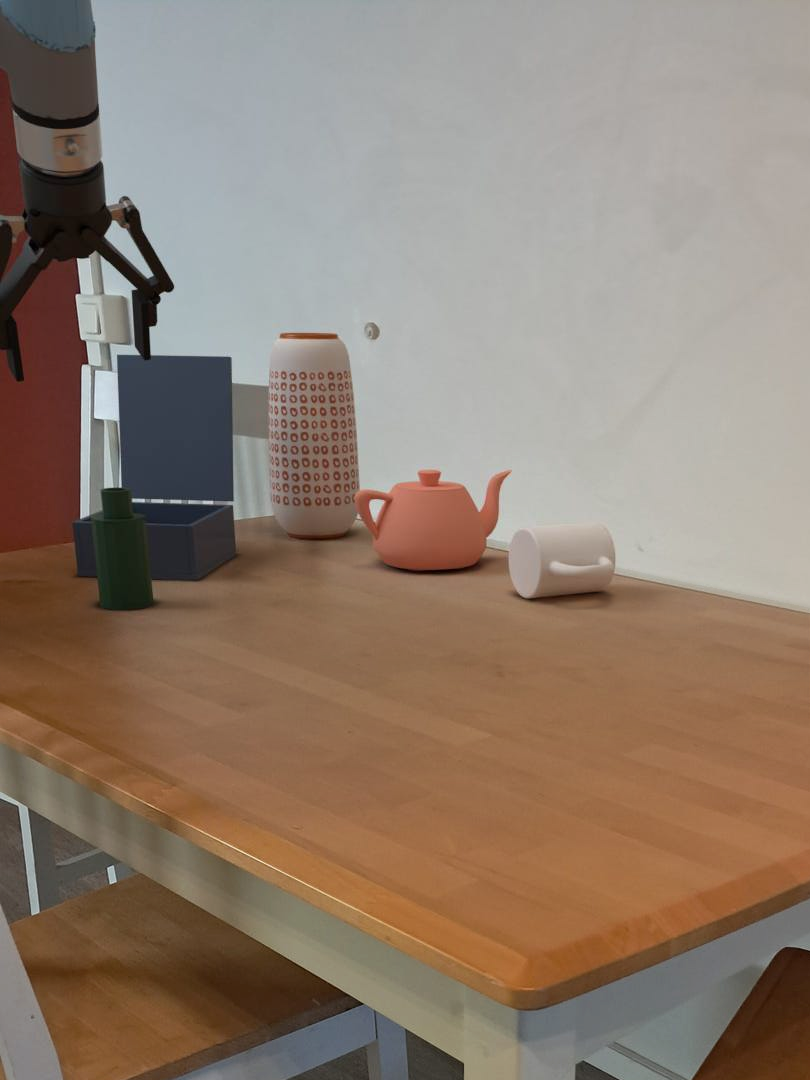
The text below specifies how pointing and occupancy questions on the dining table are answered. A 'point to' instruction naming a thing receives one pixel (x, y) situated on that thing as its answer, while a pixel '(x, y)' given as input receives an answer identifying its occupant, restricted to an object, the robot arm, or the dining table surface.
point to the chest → (171, 539)
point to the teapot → (430, 522)
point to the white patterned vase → (312, 436)
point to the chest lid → (176, 427)
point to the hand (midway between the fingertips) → (80, 363)
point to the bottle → (121, 553)
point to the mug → (561, 559)
